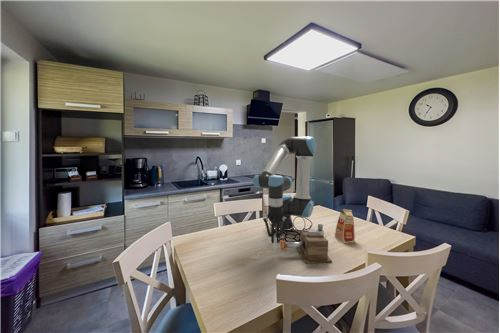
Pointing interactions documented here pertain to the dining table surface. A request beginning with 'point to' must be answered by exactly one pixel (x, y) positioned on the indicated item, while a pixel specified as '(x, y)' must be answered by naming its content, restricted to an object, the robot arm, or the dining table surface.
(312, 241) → the hitch block
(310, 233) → the keeper bar
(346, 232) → the milk carton
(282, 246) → the lynch pin
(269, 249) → the dining table surface
